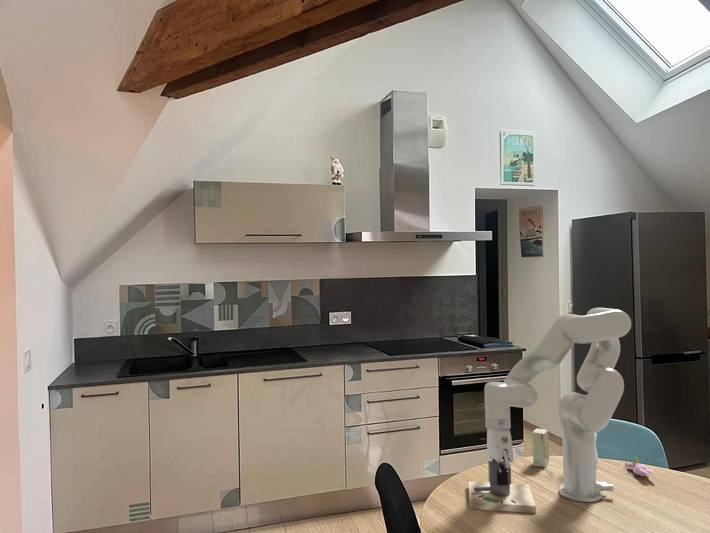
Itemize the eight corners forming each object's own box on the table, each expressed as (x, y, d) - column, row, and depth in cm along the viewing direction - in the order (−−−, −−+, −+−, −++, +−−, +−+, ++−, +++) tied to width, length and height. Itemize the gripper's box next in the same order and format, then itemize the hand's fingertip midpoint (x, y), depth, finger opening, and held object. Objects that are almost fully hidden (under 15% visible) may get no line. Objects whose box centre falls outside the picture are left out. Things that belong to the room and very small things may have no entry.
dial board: (528, 490, 167) (528, 483, 167) (536, 512, 152) (535, 505, 152) (468, 487, 171) (468, 480, 171) (469, 509, 155) (469, 501, 155)
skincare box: (545, 468, 186) (544, 434, 186) (533, 466, 188) (531, 432, 188) (549, 462, 191) (548, 429, 191) (537, 460, 193) (535, 427, 194)
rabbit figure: (620, 471, 184) (642, 481, 170) (618, 454, 185) (640, 462, 171) (638, 471, 184) (661, 480, 169) (636, 453, 185) (659, 461, 170)
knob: (508, 488, 164) (507, 459, 164) (512, 496, 158) (511, 466, 158) (472, 487, 165) (471, 459, 165) (475, 495, 159) (474, 466, 159)
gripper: (520, 429, 154) (523, 491, 154) (498, 414, 171) (500, 470, 170) (496, 431, 153) (498, 493, 153) (476, 416, 170) (478, 472, 169)
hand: (499, 480), depth 162 cm, fingers closed on knob, 3 cm apart
